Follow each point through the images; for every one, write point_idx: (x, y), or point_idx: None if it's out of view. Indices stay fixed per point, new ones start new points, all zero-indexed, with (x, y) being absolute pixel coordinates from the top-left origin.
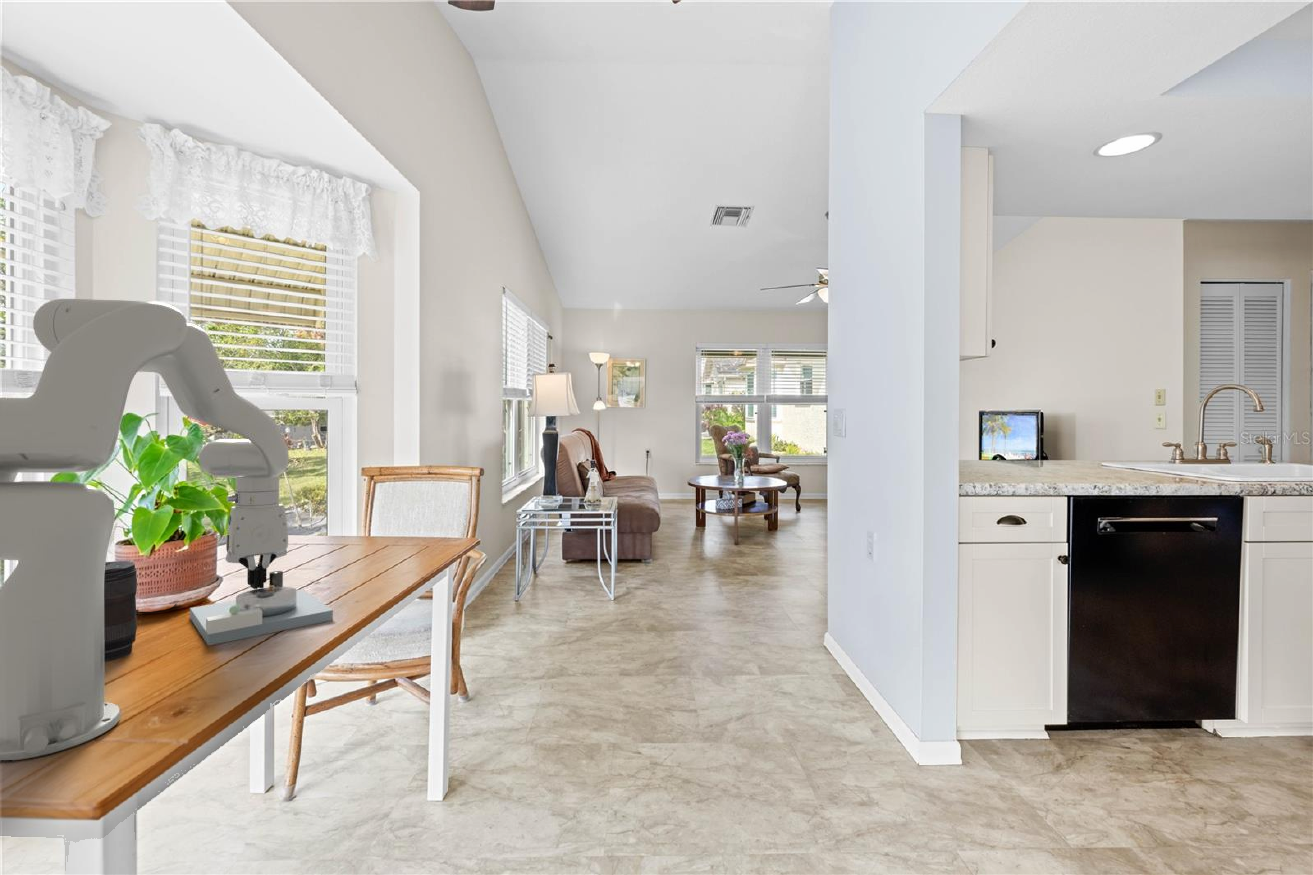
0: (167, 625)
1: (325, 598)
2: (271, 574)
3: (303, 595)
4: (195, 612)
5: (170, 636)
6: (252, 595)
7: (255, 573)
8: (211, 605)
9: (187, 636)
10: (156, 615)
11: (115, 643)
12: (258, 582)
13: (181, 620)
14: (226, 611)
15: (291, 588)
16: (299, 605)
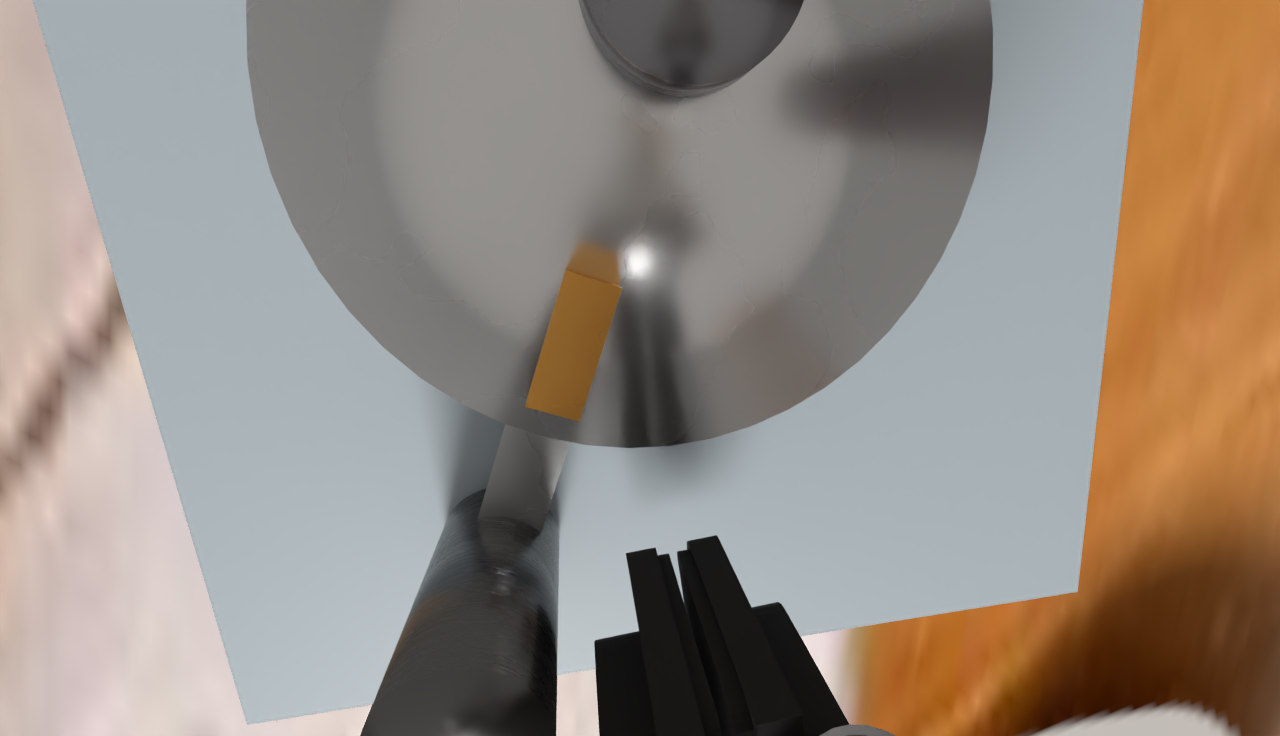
0: (1144, 457)
1: (99, 564)
2: (532, 687)
3: (253, 497)
4: (1081, 443)
5: (1195, 174)
6: (814, 121)
7: (775, 666)
8: (956, 581)
9: None
10: (1133, 708)
11: None
12: (692, 588)
13: None
14: (909, 329)
15: (315, 197)
16: None
